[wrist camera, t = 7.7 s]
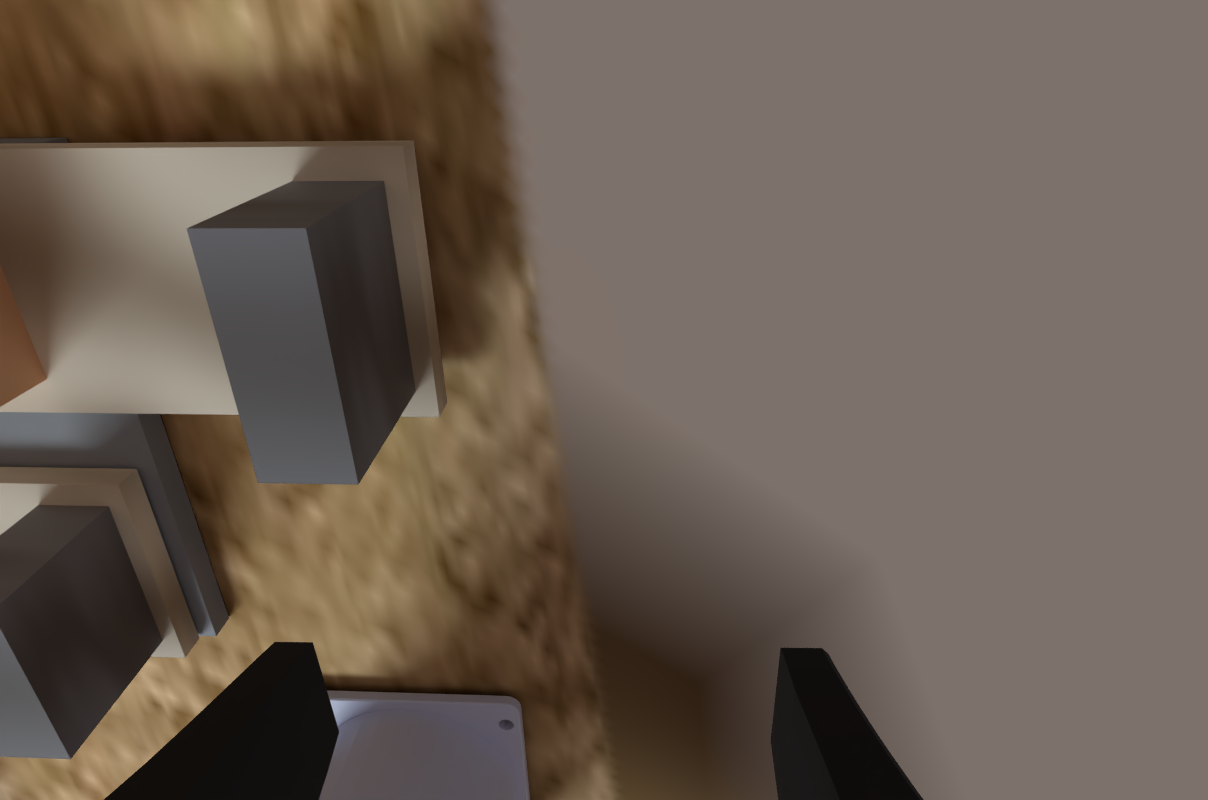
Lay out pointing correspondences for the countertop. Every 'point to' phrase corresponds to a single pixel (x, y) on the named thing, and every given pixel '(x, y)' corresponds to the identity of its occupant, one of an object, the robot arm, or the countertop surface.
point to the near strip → (149, 270)
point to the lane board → (123, 448)
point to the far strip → (78, 602)
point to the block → (15, 350)
